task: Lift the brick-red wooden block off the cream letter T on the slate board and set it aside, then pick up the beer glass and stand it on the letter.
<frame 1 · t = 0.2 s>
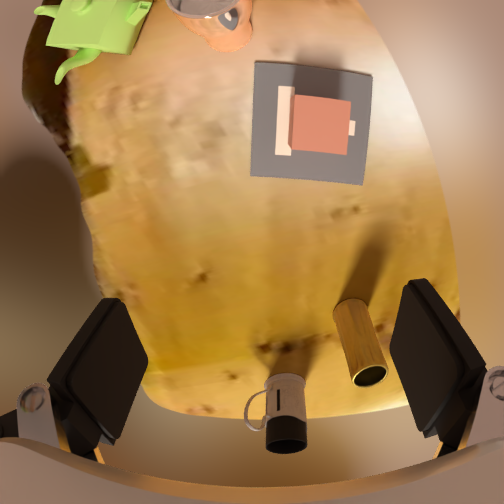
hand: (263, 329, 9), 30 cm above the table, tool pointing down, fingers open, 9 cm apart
beer glass: (228, 32, 28), on the table
grey and black mug: (275, 379, 55), on the table
kettle: (117, 23, 27), on the table
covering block: (312, 123, 33), resting on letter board
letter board: (312, 122, 33), on the table
vase: (349, 311, 46), on the table
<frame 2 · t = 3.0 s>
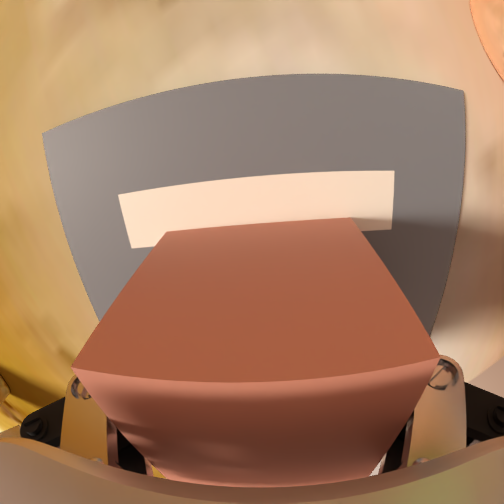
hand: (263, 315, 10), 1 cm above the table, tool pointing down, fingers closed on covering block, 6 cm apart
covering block: (264, 301, 10), resting on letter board, touching gripper
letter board: (264, 295, 11), on the table
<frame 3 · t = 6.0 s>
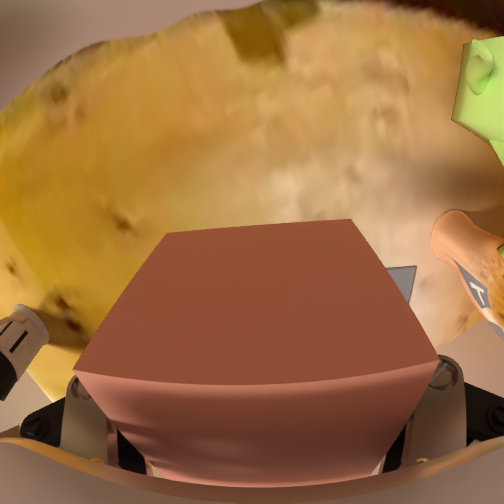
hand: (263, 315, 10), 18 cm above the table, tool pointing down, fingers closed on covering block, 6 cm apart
beer glass: (449, 234, 27), on the table
grey and black mug: (31, 314, 36), on the table
kettle: (483, 97, 19), on the table
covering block: (264, 302, 10), point 17 cm above the table, touching gripper
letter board: (346, 325, 32), on the table
when the fingers open (3 cm above the table, at t = 9.0 s): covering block drops 2 cm, on the table.
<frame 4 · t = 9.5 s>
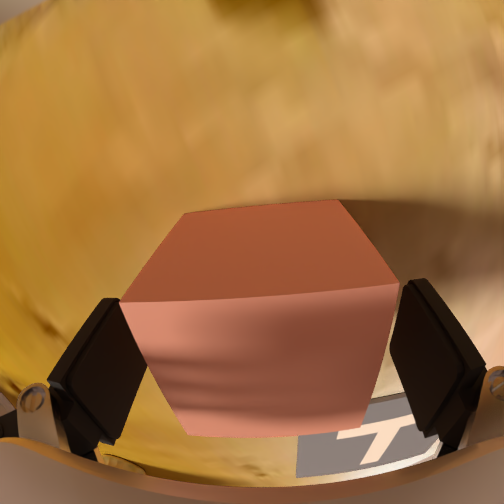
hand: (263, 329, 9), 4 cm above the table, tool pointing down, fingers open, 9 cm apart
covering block: (267, 272, 12), on the table
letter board: (381, 438, 19), on the table
vase: (124, 463, 26), on the table
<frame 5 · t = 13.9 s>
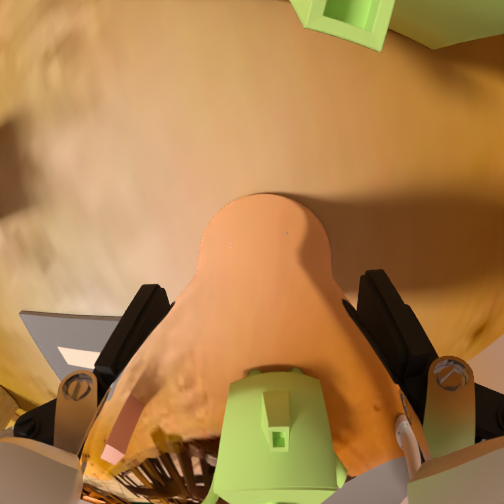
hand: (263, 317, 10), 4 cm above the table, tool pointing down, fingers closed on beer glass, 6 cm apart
beer glass: (265, 253, 14), on the table, touching gripper
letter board: (124, 387, 19), on the table
vase: (5, 393, 27), on the table
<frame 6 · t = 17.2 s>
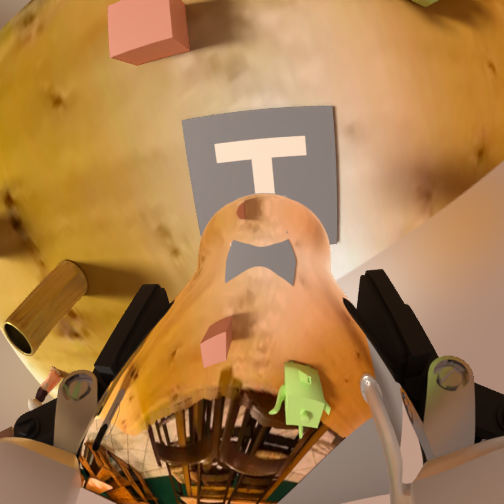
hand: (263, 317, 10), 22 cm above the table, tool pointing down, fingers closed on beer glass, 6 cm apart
beer glass: (264, 253, 14), point 17 cm above the table, touching gripper
grandmother figurine: (56, 371, 49), on the table
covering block: (160, 34, 22), on the table
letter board: (263, 181, 29), on the table
vase: (72, 277, 36), on the table
when the fingers open (6 cm above the table, at t = 20.8 s): beer glass drops 1 cm, resting on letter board.
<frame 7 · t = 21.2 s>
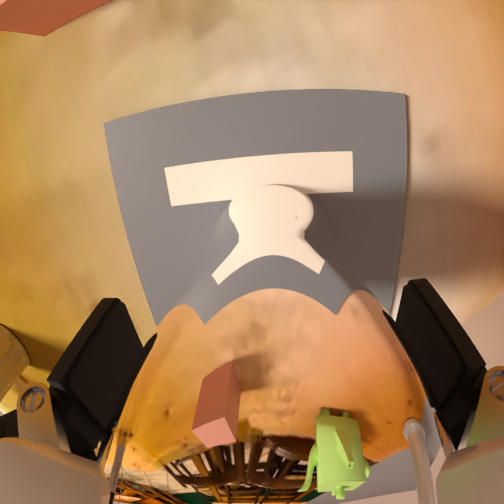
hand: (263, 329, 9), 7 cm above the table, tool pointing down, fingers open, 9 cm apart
beer glass: (273, 241, 15), resting on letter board
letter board: (265, 241, 15), on the table
vase: (12, 343, 22), on the table
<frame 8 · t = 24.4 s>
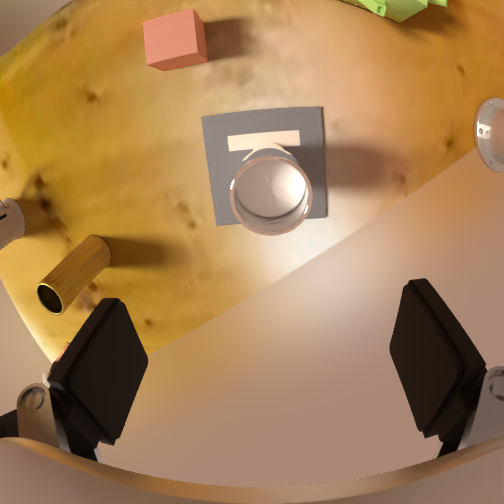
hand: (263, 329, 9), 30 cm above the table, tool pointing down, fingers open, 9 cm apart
beer glass: (269, 165, 36), resting on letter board
grandmother figurine: (70, 347, 56), on the table
grey and black mug: (13, 207, 40), on the table
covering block: (183, 46, 29), on the table
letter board: (266, 166, 36), on the table
vase: (97, 251, 43), on the table
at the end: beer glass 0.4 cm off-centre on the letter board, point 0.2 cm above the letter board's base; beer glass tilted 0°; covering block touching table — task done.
